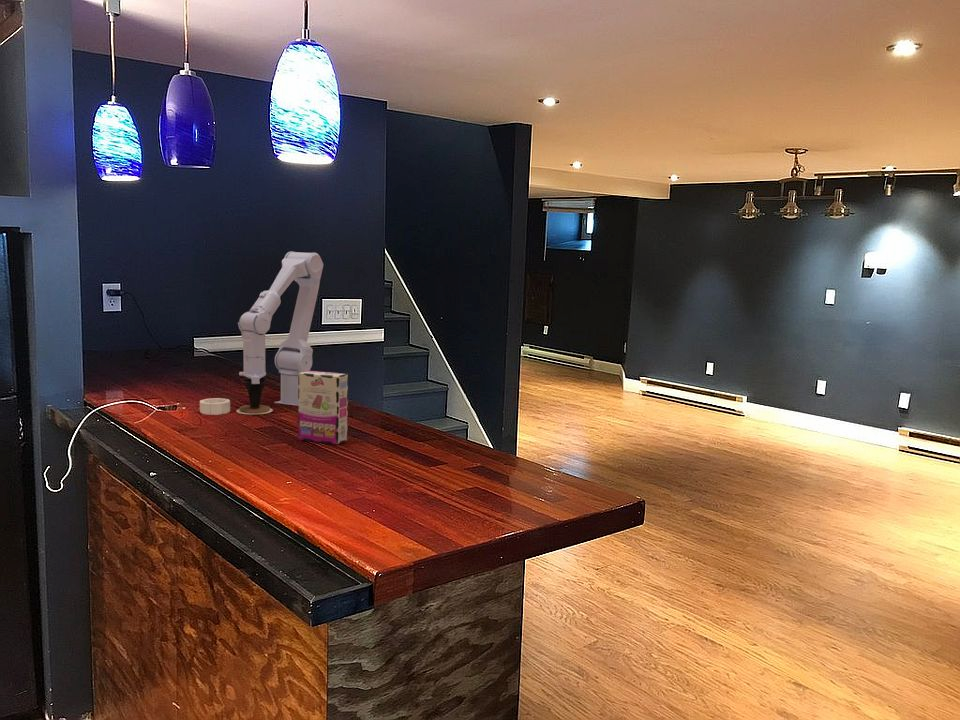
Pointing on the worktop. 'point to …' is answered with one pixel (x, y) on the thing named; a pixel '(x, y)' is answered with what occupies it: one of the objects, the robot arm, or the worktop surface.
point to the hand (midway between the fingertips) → (254, 405)
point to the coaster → (256, 413)
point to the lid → (254, 409)
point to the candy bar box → (322, 407)
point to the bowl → (214, 406)
